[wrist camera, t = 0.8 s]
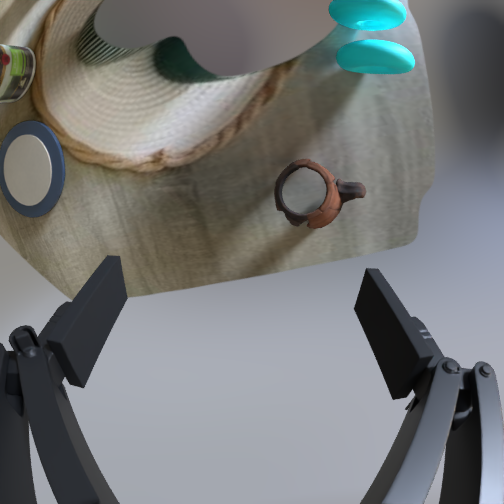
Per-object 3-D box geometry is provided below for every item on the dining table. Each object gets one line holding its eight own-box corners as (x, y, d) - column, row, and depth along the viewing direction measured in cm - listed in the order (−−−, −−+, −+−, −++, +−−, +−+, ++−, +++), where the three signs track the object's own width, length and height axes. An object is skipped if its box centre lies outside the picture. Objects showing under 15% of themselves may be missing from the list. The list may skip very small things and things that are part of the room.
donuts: (328, 72, 32) (353, 61, 23) (319, 9, 28) (340, -17, 19) (393, 77, 32) (431, 71, 23) (384, 17, 27) (418, -1, 18)
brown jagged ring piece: (292, 234, 43) (277, 236, 36) (278, 174, 43) (260, 163, 36) (370, 217, 39) (373, 215, 31) (354, 155, 39) (353, 138, 31)
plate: (-6, 136, 32) (-9, 137, 31) (57, 107, 32) (53, 107, 31) (11, 221, 40) (8, 223, 39) (74, 209, 40) (71, 211, 39)
